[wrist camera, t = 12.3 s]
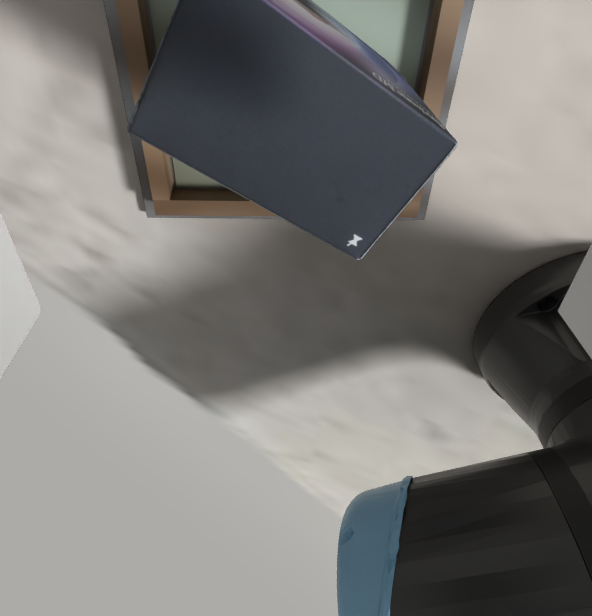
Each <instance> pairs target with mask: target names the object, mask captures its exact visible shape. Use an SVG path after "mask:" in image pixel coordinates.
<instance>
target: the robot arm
mask: <svg viewBox="0 0 592 616" xmlns="http://www.w3.org/2000/svg"><path fill="white" fill-rule="evenodd" d="M41 311H42V309H41V307H40V304H39V302H38V300H37V298H36V295H35V293H34V290H33V288H32V286H31V283H30V281H29V279H28V276H27V274H26V271H25V269H24V267H23V264H22V262H21V260H20V257H19V255H18V253H17V250H16V248H15V246H14V243H13V241H12V239H11V236H10V234H9V232H8V229H7V227H6V225H5V222H4V220H3V218H2V215H1V213H0V379H1V377H2V376H3V374H4V373H5V371H6V369H7V368H8V366H9V364H10V363H11V361H12V359H13V358H14V356H15V354H16V353H17V351H18V349H19V348H20V346H21V344H22V342H23V341H24V340H25V338H26V336H27V335H28V333H29V331H30V330H31V328H32V326H33V325H34V323H35V321H36V320H37V318H38V316H39V315H40V313H41ZM473 349H474V355H475V358H476V361H477V363H478V366H479V368H480V370H481V372H482V375H483V377H484V379H485V381H486V382H487V384H488V385H489V387H490V388H491V389H492V390H493V391H494V392H495V393H496V394H498V395H499V396H500V397H501V398H502V399H504V400H505V401H506V402H507V403H508V404H509V405H510V407H511V408H512V409H513V410H514V411H515V412H516V413H517V414H518V415H519V416H520V417H521V418H522V419H523V420H524V421H525V422H526V423H527V425H528V426H529V427H530V428H531V429H532V430H533V431H534V432H535V433H536V434H537V436H538V438H539V440H540V442H541V444H542V446H543V448H544V449H541V450H536V451H532V452H527V453H522V454H518V455H513V456H509V457H504V458H500V459H495V460H491V461H486V462H482V463H477V464H473V465H468V466H464V467H460V468H455V469H451V470H446V471H442V472H437V473H433V474H428V475H424V476H419V477H415V478H413V476H407V477H405V478H404V479H403V480H402V481H400V482H396V483H393V484H389V485H385V486H382V487H378V488H375V489H371V490H367V491H365V492H363V493H360V494H359V495H357V496H356V497H355V498H354V499H353V500H352V501H351V503H350V504H349V506H348V507H347V509H346V511H345V514H344V517H343V520H342V524H341V529H340V534H339V543H338V555H337V599H338V614H339V616H592V244H591V246H590V248H589V250H588V252H584V253H579V254H575V255H571V256H567V257H564V258H561V259H558V260H556V261H553V262H551V263H548V264H546V265H544V266H542V267H539V268H537V269H536V270H534V271H532V272H530V273H528V274H527V275H525V276H523V277H522V278H520V279H519V280H517V281H516V282H515V283H513V284H512V285H511V286H509V287H508V288H507V289H506V290H505V291H504V292H502V293H501V294H500V295H499V296H498V297H497V298H496V299H495V300H494V302H493V303H492V304H491V305H490V306H489V308H488V309H487V310H486V312H485V313H484V315H483V316H482V318H481V320H480V322H479V324H478V326H477V329H476V332H475V336H474V342H473Z"/></svg>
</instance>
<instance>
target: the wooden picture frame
mask: <svg viewBox="0 0 592 616" xmlns="http://www.w3.org/2000/svg"><path fill="white" fill-rule="evenodd" d="M103 1H104V6H105V11H106V16H107V21H108V26H109V31H110V36H111V41H112V46H113V50H114V55H115V60H116V65H117V70H118V75H119V80H120V85H121V90H122V95H123V100H124V105H125V110H126V115H127V120H128V124H129V121H130V118H131V115H132V113H133V111H134V109H135V106H136V103H137V101H138V98H139V96H140V93H141V91H142V88H143V86H144V83H145V80H146V78H147V75H148V73H149V71H150V68H151V66H152V63H153V61H154V58H155V56H156V53H157V51H158V48H159V46H160V43H161V41H162V38H163V35H164V33H165V30H166V28H167V26H168V23H169V21H170V19H171V16H172V14H173V12H174V9H175V7H176V4H177V2H178V0H103ZM312 1H313V2H314V3H315V4H317V5H318V6H319V7H321V8H322V9H323V10H325V11H326V12H327V13H329V14H330V15H331V16H332V17H333V18H335V19H336V20H337V21H338V22H340V23H341V24H342V25H343V26H345V27H346V28H347V29H348V30H350V31H351V32H352V33H353V34H355V35H356V36H357V37H358V38H360V39H361V40H362V41H363V42H365V43H366V44H367V45H368V46H370V47H371V48H372V49H373V50H375V51H376V52H377V53H378V54H379V55H381V56H382V57H383V58H385V59H386V60H387V61H388V62H389V63H390V64H391V65H392V66H393V67H394V68H395V69H396V70H397V71H398V72H399V73H400V74H401V75H402V76H403V77H404V79H405V80H406V81H407V82H408V83H409V85H410V86H411V87H412V88H413V90H414V91H415V92H416V93H417V94H418V96H419V97H420V98H421V99H422V100H423V102H424V103H425V104H426V105H427V106H428V108H429V109H430V110H431V111H432V112H433V114H434V115H435V116H436V117H437V119H438V120H439V121H440V122H441V123H442V125H443V126H444V127H445V126H446V122H447V117H448V113H449V109H450V104H451V100H452V96H453V91H454V87H455V83H456V78H457V74H458V69H459V65H460V61H461V56H462V52H463V48H464V43H465V39H466V34H467V30H468V26H469V21H470V17H471V13H472V8H473V4H474V0H312ZM130 135H131V140H132V145H133V150H134V154H135V159H136V164H137V169H138V174H139V179H140V184H141V189H142V194H143V199H144V204H145V209H146V214H147V217H152V218H255V219H282V218H280V217H279V216H277V215H275V214H273V213H271V212H269V211H268V210H266V209H264V208H262V207H260V206H259V205H257V204H255V203H253V202H252V201H250V200H248V199H246V198H244V197H243V196H241V195H239V194H237V193H235V192H233V191H232V190H230V189H228V188H226V187H225V186H223V185H221V184H219V183H218V182H216V181H214V180H212V179H210V178H209V177H207V176H205V175H203V174H202V173H200V172H198V171H196V170H194V169H193V168H191V167H189V166H187V165H185V164H184V163H182V162H180V161H178V160H176V159H175V158H173V157H171V156H169V155H167V154H166V153H164V152H162V151H160V150H159V149H157V148H155V147H153V146H152V145H150V144H148V143H146V142H145V141H143V140H141V139H139V138H137V137H136V136H134V135H132V134H130ZM434 174H435V173H434ZM434 174H433V175H432V177H431V178H430V179H429V180H428V181H427V183H426V184H425V185H424V186H423V187H422V188H421V189H420V191H419V192H418V193H417V194H416V195H415V196H414V198H413V199H412V200H411V201H410V203H409V204H408V205H407V206H406V207H405V208H404V209H403V211H402V212H401V213H400V214H399V215H398V217H397V218H396V219H395V220H424V218H425V214H426V209H427V205H428V200H429V196H430V192H431V187H432V183H433V179H434Z"/></svg>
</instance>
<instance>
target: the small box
mask: <svg viewBox="0 0 592 616" xmlns="http://www.w3.org/2000/svg"><path fill="white" fill-rule="evenodd" d="M128 132H129V133H130V134H132V135H134V136H136V137H137V138H139V139H141V140H143V141H145V142H146V143H148V144H150V145H152V146H153V147H155V148H157V149H159V150H160V151H162V152H164V153H166V154H167V155H169V156H171V157H173V158H175V159H176V160H178V161H180V162H182V163H184V164H185V165H187V166H189V167H191V168H193V169H194V170H196V171H198V172H200V173H202V174H203V175H205V176H207V177H209V178H210V179H212V180H214V181H216V182H218V183H219V184H221V185H223V186H225V187H226V188H228V189H230V190H232V191H233V192H235V193H237V194H239V195H241V196H243V197H244V198H246V199H248V200H250V201H252V202H253V203H255V204H257V205H259V206H260V207H262V208H264V209H266V210H268V211H269V212H271V213H273V214H275V215H277V216H279V217H280V218H282V219H284V220H286V221H287V222H289V223H291V224H293V225H294V226H296V227H298V228H300V229H302V230H304V231H305V232H307V233H309V234H311V235H312V236H314V237H316V238H318V239H320V240H321V241H323V242H325V243H327V244H329V245H330V246H332V247H334V248H336V249H338V250H340V251H341V252H343V253H345V254H347V255H349V256H350V257H352V258H354V259H356V260H360V259H362V258H363V257H364V256H365V254H366V253H367V252H368V251H369V250H370V248H371V247H372V246H373V245H374V243H375V242H376V241H377V240H378V239H379V238H380V236H381V235H382V234H383V233H384V232H385V231H386V229H387V228H388V227H389V226H390V225H391V224H392V223H393V221H394V220H395V219H396V218H397V217H398V215H399V214H400V213H401V212H402V211H403V209H404V208H405V207H406V206H407V205H408V204H409V203H410V201H411V200H412V199H413V198H414V196H415V195H416V194H417V193H418V192H419V191H420V189H421V188H422V187H423V186H424V185H425V184H426V183H427V181H428V180H429V179H430V178H431V177H432V175H433V174H434V173H435V172H436V171H437V170H438V169H439V167H440V166H441V165H442V163H443V162H444V161H445V160H446V159H447V158H448V157H449V155H450V154H451V153H452V152H453V151H454V150H455V148H456V147H457V141H456V140H455V139H454V138H453V137H452V135H451V134H450V133H449V132H448V131H447V129H446V128H445V127H444V126H443V125H442V123H441V122H440V121H439V120H438V119H437V117H436V116H435V115H434V114H433V112H432V111H431V110H430V109H429V108H428V106H427V105H426V104H425V103H424V102H423V100H422V99H421V98H420V97H419V96H418V94H417V93H416V92H415V91H414V90H413V88H412V87H411V86H410V85H409V83H408V82H407V81H406V80H405V79H404V77H403V76H402V75H401V74H400V73H399V72H398V71H397V70H396V69H395V68H394V67H393V66H392V65H391V64H390V63H389V62H388V61H387V60H386V59H385V58H383V57H382V56H381V55H379V54H378V53H377V52H376V51H375V50H373V49H372V48H371V47H370V46H368V45H367V44H366V43H365V42H363V41H362V40H361V39H360V38H358V37H357V36H356V35H355V34H353V33H352V32H351V31H350V30H348V29H347V28H346V27H345V26H343V25H342V24H341V23H340V22H338V21H337V20H336V19H335V18H333V17H332V16H331V15H330V14H329V13H327V12H326V11H325V10H323V9H322V8H321V7H319V6H318V5H317V4H315V3H314V2H313V1H312V0H178V2H177V4H176V7H175V9H174V12H173V14H172V16H171V19H170V21H169V23H168V26H167V28H166V30H165V33H164V35H163V38H162V41H161V43H160V46H159V48H158V51H157V53H156V56H155V58H154V61H153V63H152V66H151V68H150V71H149V73H148V75H147V78H146V80H145V83H144V86H143V88H142V91H141V93H140V96H139V98H138V101H137V103H136V106H135V109H134V111H133V113H132V115H131V118H130V121H129V124H128Z"/></svg>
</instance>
